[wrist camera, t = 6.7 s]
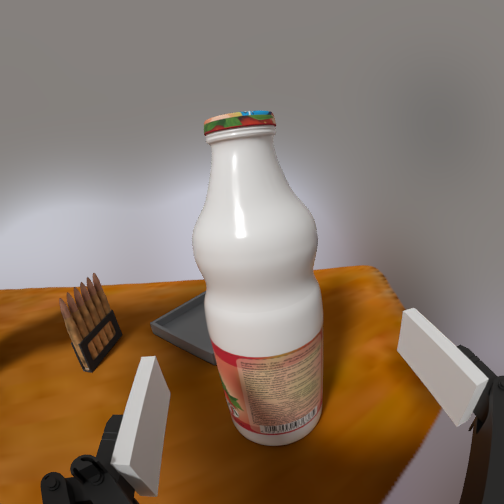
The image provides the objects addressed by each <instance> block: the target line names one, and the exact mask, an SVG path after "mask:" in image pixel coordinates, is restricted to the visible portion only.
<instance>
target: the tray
mask: <svg viewBox="0 0 504 504" xmlns="http://www.w3.org/2000/svg"><path fill="white" fill-rule="evenodd" d="M205 294H206V291H205V292H203V293H201V294H200V295H198V296H196V297H195V298H193V299H191V300H189V301H188V302H186V303H184V304H182V305H181V306H179V307H177V308H175V309H174V310H172V311H170V312H168V313H167V314H165V315H163V316H161V317H160V318H158V319H156V320H154V321H153V322H151V323H150V325H151V328H152V331H153V333H154V334H155V335H157V336H159V337H161V338H163V339H164V340H166V341H168V342H170V343H172V344H174V345H176V346H177V347H179V348H181V349H183V350H185V351H187V352H189V353H191V354H193V355H195V356H197V357H199V358H201V359H203V360H205V361H207V362H209V363H211V364H213V365H216V364H217V363H216V359H215V355H214V351H213V347H212V343H211V339H210V336H209V332H208V328H207V322H206V316H205V308H204V300H205Z"/></svg>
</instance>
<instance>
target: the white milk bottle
mask: <svg viewBox="0 0 504 504" xmlns="http://www.w3.org/2000/svg"><path fill="white" fill-rule="evenodd" d="M275 126H276V123H275V118H274V115H273V113H272V112H268V111H245V112H237V113H230V114H224V115H220V116H216V117H213V118H210V119H208V120H206V121H205V122H204V135H205V136H206V142H207V144H209V145H210V146H211V150H212V163H211V173H210V180H209V186H208V192H207V197H206V201H205V204H204V207H203V209H202V211H201V214H200V215H199V217H198V220H197V222H196V224H195V227H194V230H193V236H192V246H193V253H194V258H195V261H196V263H197V266H198V268H199V270H200V272H201V273H202V276H203V277H204V279H205V281H206V285H207V290H206V294H205V300H204V308H205V316H206V322H207V328H208V332H209V336H210V339H211V343H212V347H213V351H214V355H215V359H216V363H217V367H218V370H219V374H220V378H221V382H222V385H223V389H224V393H225V396H226V400H227V403H228V407H229V410H230V414H231V417H232V420H233V422H234V424H235V426H236V428H237V429H238V431H239V432H240V433H241V434H242V435H243V436H244V437H246V438H247V439H249V440H251V441H253V442H255V443H258V444H262V445H267V446H280V445H286V444H290V443H293V442H296V441H298V440H300V439H302V438H303V437H305V436H306V435H307V434H309V433H310V432H311V431H312V430H313V429H314V427H315V426H316V424H317V423H318V421H319V418H320V415H321V411H322V394H323V306H322V297H321V291H320V287H319V284H318V282H317V280H316V278H315V276H314V273H313V266H314V261H315V257H316V252H317V246H318V236H317V229H316V224H315V221H314V219H313V216H312V214H311V213H310V211H309V210H308V209H307V207H306V206H305V205H304V204H303V203H302V202H301V200H300V199H299V198H298V197H297V196H296V195H295V194H294V192H293V191H292V189H291V188H290V186H289V184H288V182H287V180H286V178H285V176H284V174H283V171H282V169H281V167H280V164H279V162H278V159H277V156H276V153H275V149H274V145H273V136H274V135H275V134H276V131H275V129H276V128H275Z"/></svg>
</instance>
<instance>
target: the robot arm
mask: <svg viewBox="0 0 504 504" xmlns="http://www.w3.org/2000/svg"><path fill="white" fill-rule="evenodd" d="M397 351H398V352H399V353H400V355H401V356H402V357H403V358H404V360H405V361H406V362H407V363H408V364H409V366H410V367H411V368H412V369H413V371H414V372H415V373H416V374H417V376H418V377H419V378H420V380H421V381H422V382H423V383H424V385H425V386H426V387H427V388H428V390H429V391H430V392H431V394H432V395H433V396H434V397H435V399H436V400H437V401H438V403H439V404H440V405H441V407H442V408H443V409H444V411H445V412H446V413H447V415H448V416H449V417H450V419H451V420H452V421H453V423H454V424H455V425H456V427H458V426H460V425H461V424H463V423H465V422H467V421H468V420H469V419H470V416H471V415H472V413H474V414H475V415H476V417H475V419H474V421H473V423H472V424H471V426H470V428H469V431H471V429H472V428H473V436H472V444H471V451H470V457H469V463H468V468H467V473H466V478H465V483H464V487H463V492H462V495H461V499H460V503H459V504H504V376H499V377H498V376H496V375H495V374H494V373H493V372H492V371H491V370H490V369H489V368H488V367H487V366H486V365H485V364H484V363H483V362H482V361H480V359H479V358H478V357H477V356H475V355H474V353H472V352H471V351H470V350H469V349H468V348H466V347H464V346H461V345H459V346H457V347H456V346H455V345H454V344H453V343H452V342H451V341H450V340H449V339H448V338H446V336H444V335H443V334H442V333H441V332H440V331H439V330H438V329H437V328H436V327H435V326H434V325H433V324H431V323H430V322H429V321H428V320H427V319H426V318H425V317H424V316H423V315H422V314H420V313H419V312H418V311H417V310H416V309H415V308H412V309H408V310H405V311H403V316H402V323H401V330H400V337H399V343H398V349H397ZM170 395H171V394H170V391H169V389H168V386H167V384H166V382H165V379H164V377H163V374H162V372H161V369H160V366H159V364H158V361H157V359H156V356H149V357H141V361H140V364H139V367H138V370H137V373H136V376H135V379H134V382H133V385H132V389H131V392H130V395H129V398H128V402H127V405H126V408H125V412H124V415H113V416H112V417H111V418H110V419H109V420H108V422H107V423H106V426H105V429H104V433H103V436H102V440H101V442H100V445H99V449H98V452H97V455H96V457H94V456H92V455H82V456H79V457H77V458H76V459H75V460H74V461H73V463H72V464H71V468H70V470H71V474H72V475H73V476H74V477H71V478H64V477H63V476H62V475H61V474H60V473H57V472H51V473H48V474H46V475H45V476H44V477H43V479H42V481H41V493H42V500H43V504H139V503H138V501H137V500H136V499H135V498H134V492H135V491H136V492H137V493H138V494H139V495H140V496H153V497H157V494H158V484H159V475H160V466H161V458H162V450H163V442H164V435H165V428H166V421H167V414H168V407H169V401H170ZM473 426H474V427H473Z"/></svg>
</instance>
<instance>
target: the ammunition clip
mask: <svg viewBox="0 0 504 504" xmlns="http://www.w3.org/2000/svg"><path fill="white" fill-rule="evenodd" d="M93 283H94V286H93V284H92V282H91V280H90V279H89V278H87V288H88V291H87V289H86V287H85V285H84V284H83V283H82V282H81V284H80V287H81V294H82V297H83V299H82V297H81V294H80V293H79V291H78V290H77V288H76V287H74V296H75V301H76V304H77V306H76V304H75V302H74V300H73V298H72V296H71V295H70V294H69V293H67V302H68V306H69V309H70V312H71V314H70V312H69V310H68V308H67V306H66V304H65V303H64V301H63V300H62V299H61V298H60V299H59V303H60V309H61V312H62V315H63V318H64V321H65V324H66V328H67V331H68V333H69V336H70V338H71V340H72V343H71V344H72V347H73V349H74V351H75V354H76V356H77V358H78V360H79V362H80V365H81V367H82V369H83V371H86V372H93V371H94V370H95V369H96V367H97V366H98V365H99V363H100V362H101V361H102V360H103V358H104V357H105V356H106V355H107V353H108V352H109V351H110V350H111V348H112V347H113V346H114V345H115V344H116V342H117V341H118V340H119V339H120V337H121V336H122V332H121V330H120V327H119V325H118V322H117V320H116V317H115V315H114V312H113V310H111V309H110V306H109V304H108V301H107V298H106V295H105V294H104V292H103V289H102V287H101V284H100V281H99V279H98V277H97V276H96V274H95V273H93ZM94 287H95V288H94ZM88 292H89V293H88ZM83 300H84V301H83ZM77 307H78V309H77ZM78 310H79V311H78ZM71 315H72V316H71Z"/></svg>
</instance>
